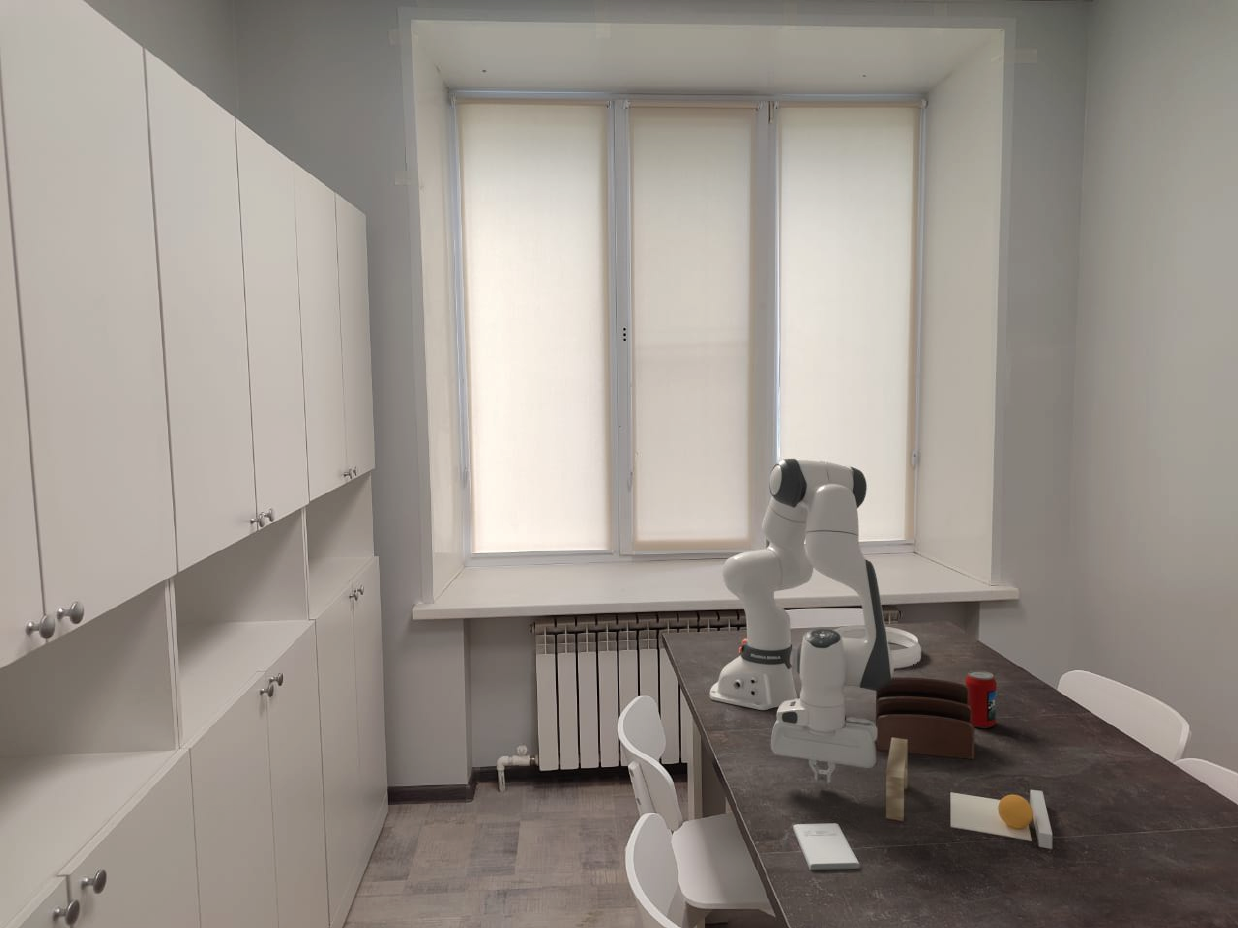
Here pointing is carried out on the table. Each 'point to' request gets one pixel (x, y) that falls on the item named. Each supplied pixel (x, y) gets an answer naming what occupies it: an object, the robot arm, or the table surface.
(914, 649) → the white ring
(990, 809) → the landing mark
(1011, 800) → the ball
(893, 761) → the bridge
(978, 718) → the beverage can
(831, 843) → the external hard drive
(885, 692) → the letter holder
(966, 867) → the table surface
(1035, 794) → the stopper
